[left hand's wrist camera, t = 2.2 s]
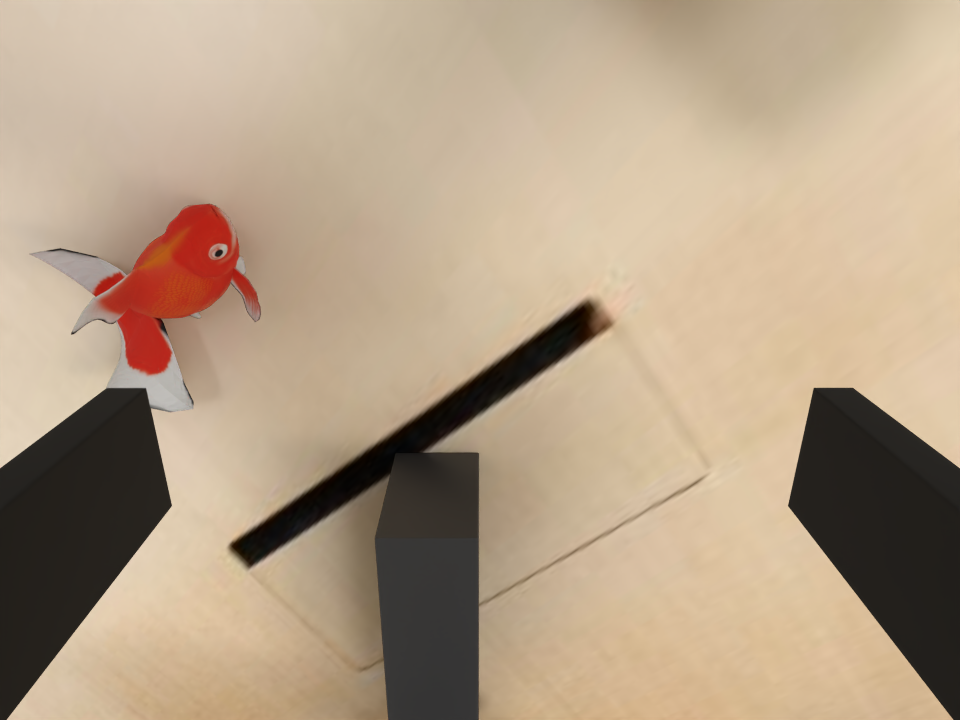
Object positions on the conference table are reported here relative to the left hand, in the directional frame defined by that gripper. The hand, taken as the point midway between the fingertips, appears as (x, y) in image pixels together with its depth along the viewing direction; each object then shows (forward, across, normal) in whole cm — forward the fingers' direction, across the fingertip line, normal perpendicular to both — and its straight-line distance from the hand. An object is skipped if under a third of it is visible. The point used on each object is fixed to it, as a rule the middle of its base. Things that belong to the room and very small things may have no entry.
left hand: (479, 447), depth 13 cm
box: (+27, -3, -28) cm, 39 cm away
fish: (+27, -18, -4) cm, 33 cm away
